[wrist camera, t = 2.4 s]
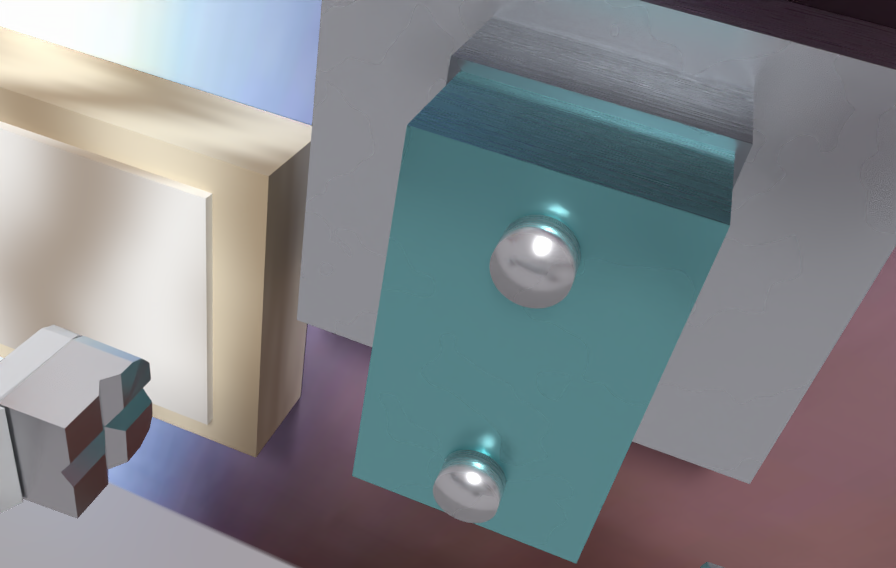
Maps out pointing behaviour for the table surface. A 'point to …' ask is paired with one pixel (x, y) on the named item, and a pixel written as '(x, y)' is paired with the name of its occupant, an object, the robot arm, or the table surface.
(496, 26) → the block
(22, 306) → the stand
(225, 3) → the table surface
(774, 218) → the stand
